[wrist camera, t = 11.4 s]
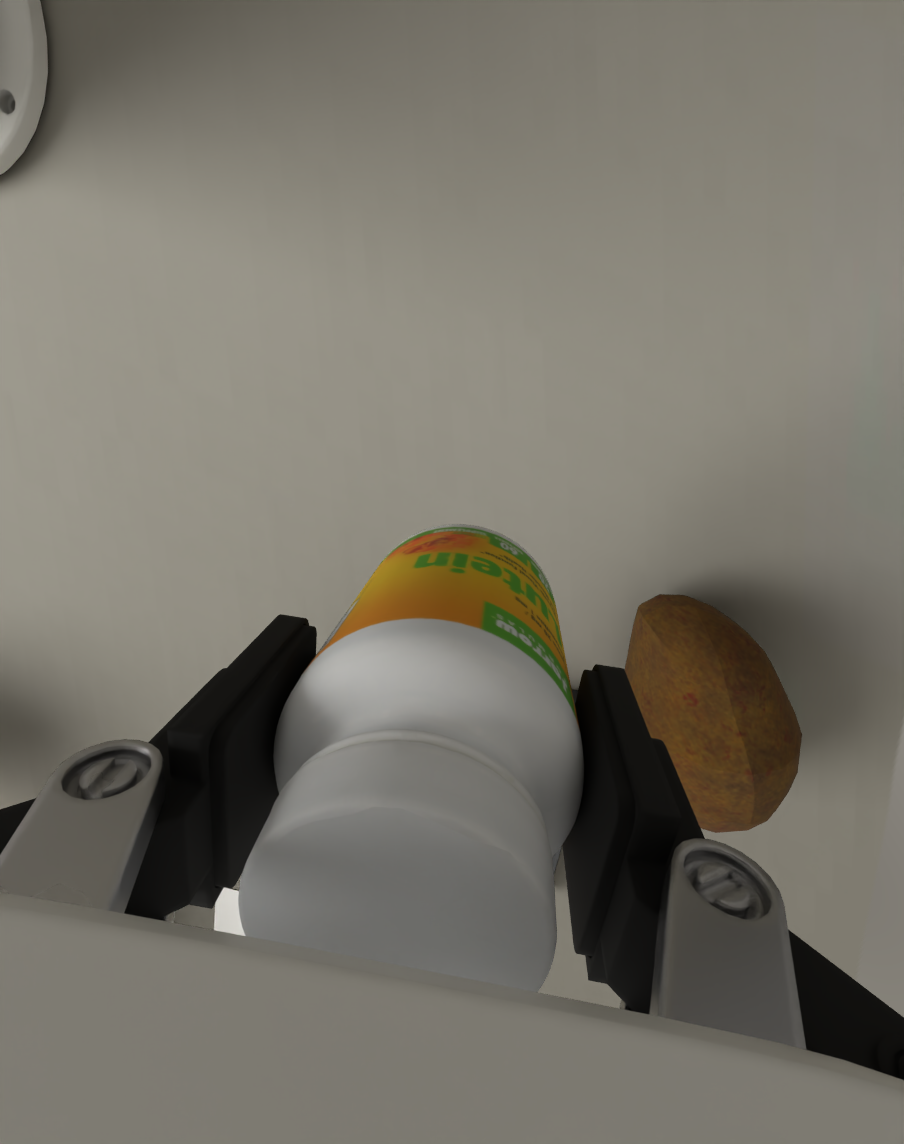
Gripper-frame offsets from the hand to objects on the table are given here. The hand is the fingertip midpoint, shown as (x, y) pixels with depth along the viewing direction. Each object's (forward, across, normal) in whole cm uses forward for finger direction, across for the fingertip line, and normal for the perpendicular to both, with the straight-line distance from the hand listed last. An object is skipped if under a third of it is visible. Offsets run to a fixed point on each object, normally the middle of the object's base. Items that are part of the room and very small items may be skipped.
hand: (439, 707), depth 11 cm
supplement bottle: (+5, 0, 0) cm, 5 cm away
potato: (+19, -13, +8) cm, 25 cm away
